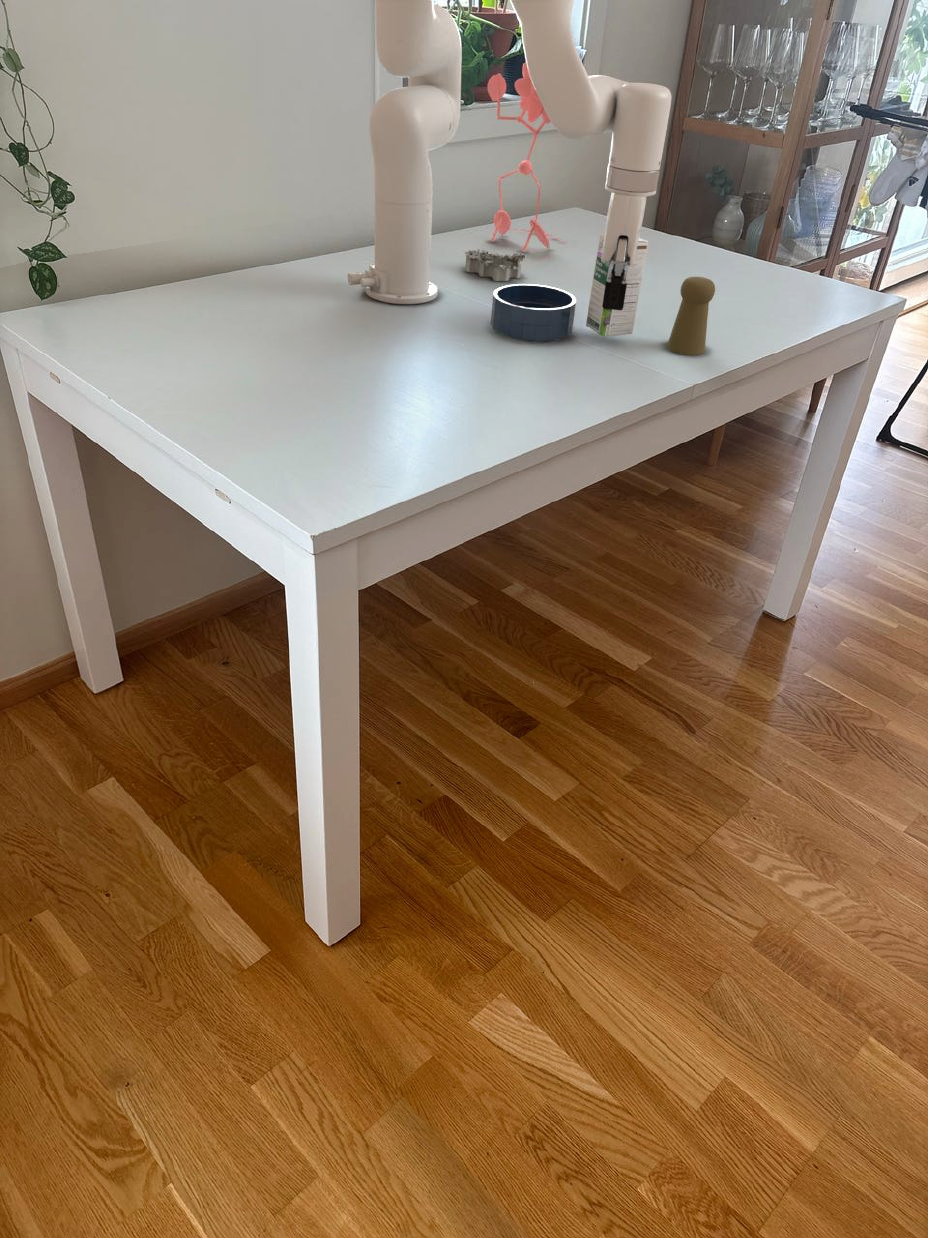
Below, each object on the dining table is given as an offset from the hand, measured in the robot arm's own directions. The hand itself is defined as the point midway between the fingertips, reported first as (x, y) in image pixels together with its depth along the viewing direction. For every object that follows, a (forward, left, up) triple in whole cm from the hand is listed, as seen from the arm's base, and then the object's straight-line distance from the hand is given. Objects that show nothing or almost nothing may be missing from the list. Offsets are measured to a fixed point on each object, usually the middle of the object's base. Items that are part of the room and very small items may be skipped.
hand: (613, 300), depth 148 cm
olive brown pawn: (+10, -8, -6) cm, 14 cm away
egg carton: (0, +38, -6) cm, 39 cm away
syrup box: (0, 0, -5) cm, 5 cm away
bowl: (-10, +7, -6) cm, 14 cm away
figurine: (+19, +56, -6) cm, 59 cm away
